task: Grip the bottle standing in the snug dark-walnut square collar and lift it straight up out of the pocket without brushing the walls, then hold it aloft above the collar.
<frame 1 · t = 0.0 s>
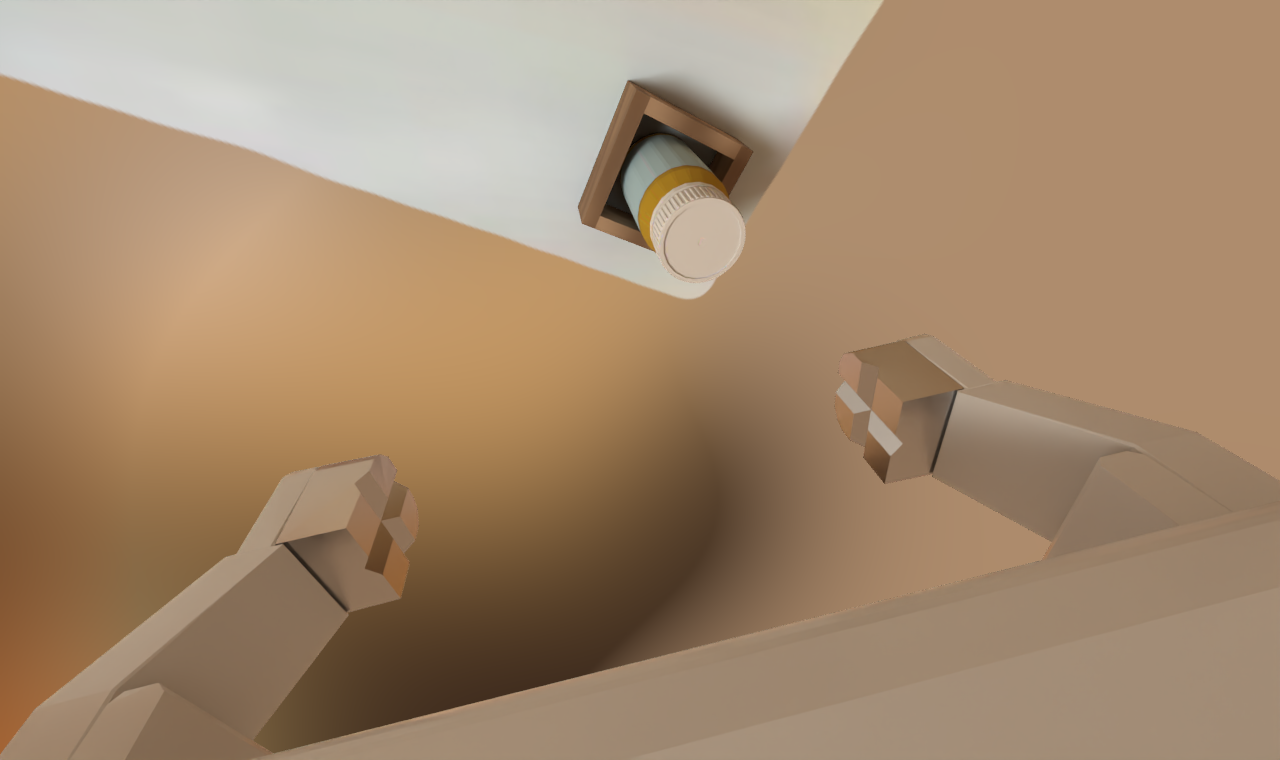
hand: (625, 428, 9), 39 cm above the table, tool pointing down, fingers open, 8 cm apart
bottle: (656, 172, 44), resting in pocket
pocket: (656, 173, 44), on the table
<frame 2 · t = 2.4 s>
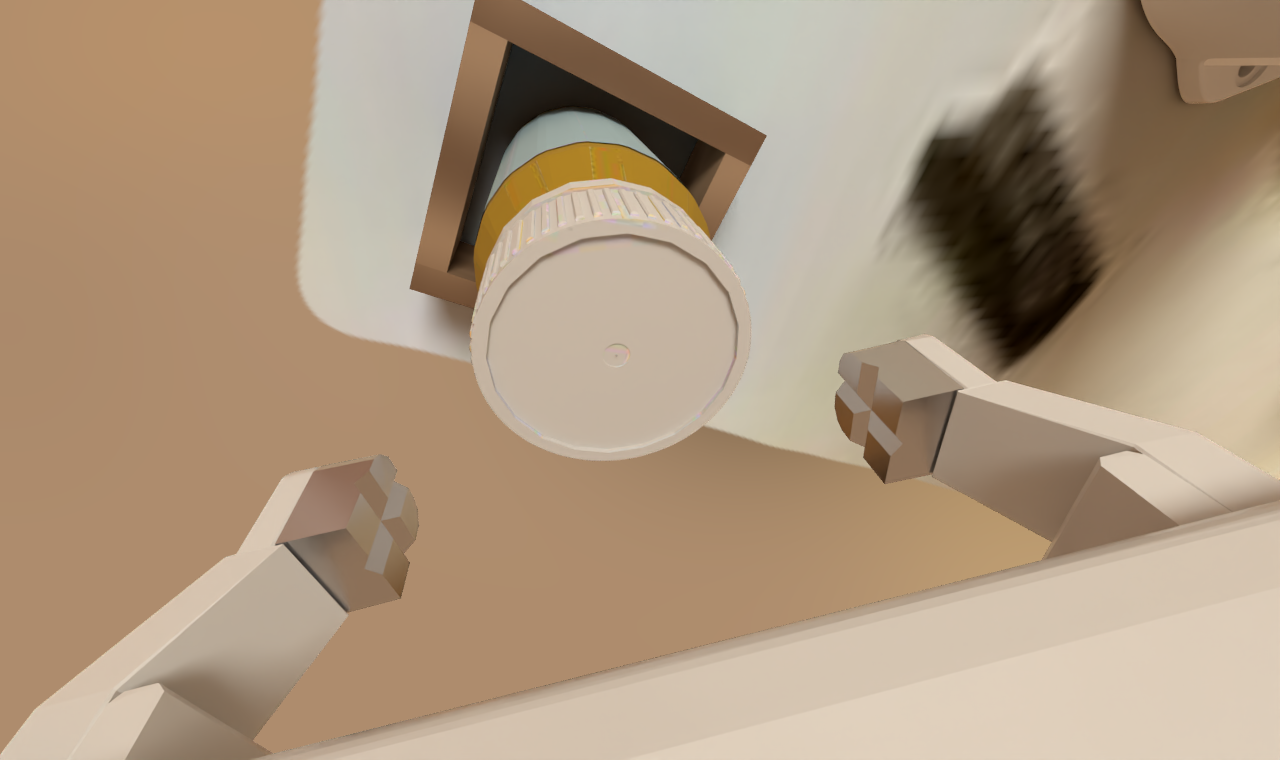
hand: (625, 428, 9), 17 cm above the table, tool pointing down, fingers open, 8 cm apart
bottle: (577, 188, 23), resting in pocket
pocket: (577, 189, 23), on the table
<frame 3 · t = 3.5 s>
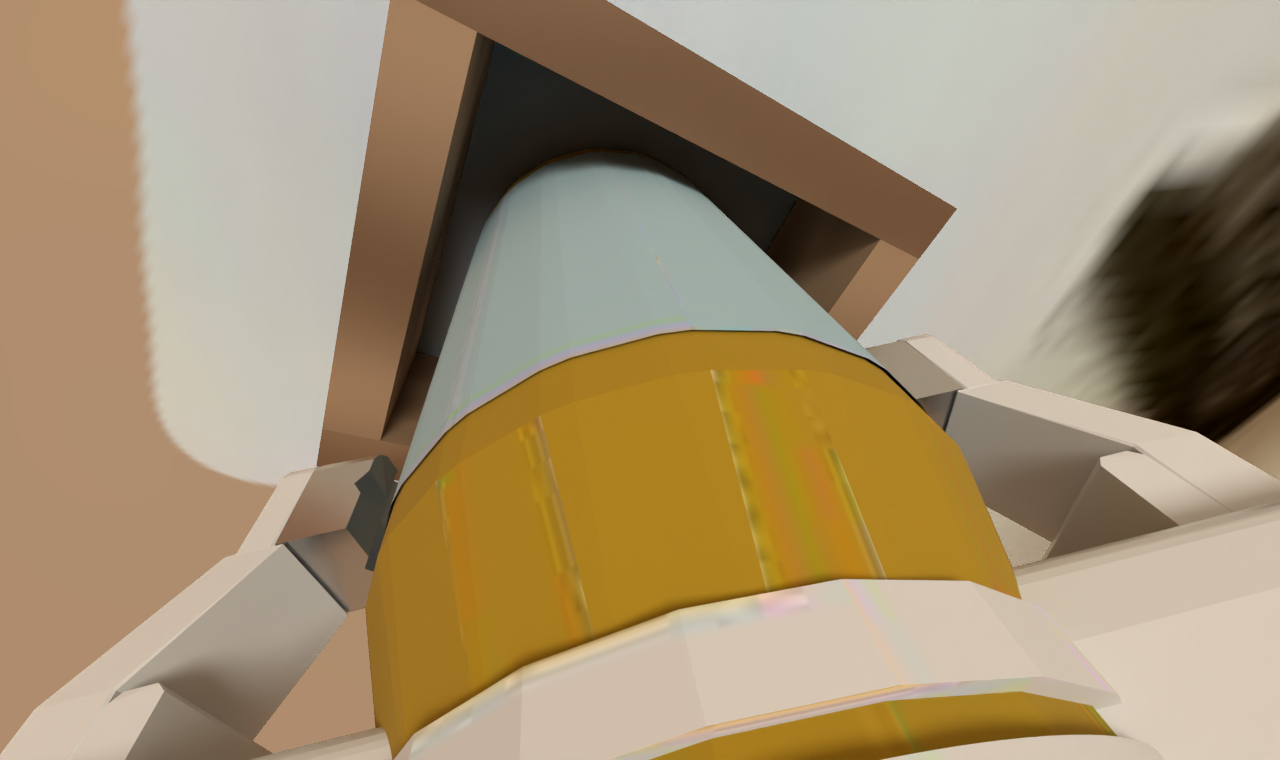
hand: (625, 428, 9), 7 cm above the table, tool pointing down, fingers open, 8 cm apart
bottle: (602, 271, 14), resting in pocket
pocket: (602, 274, 14), on the table
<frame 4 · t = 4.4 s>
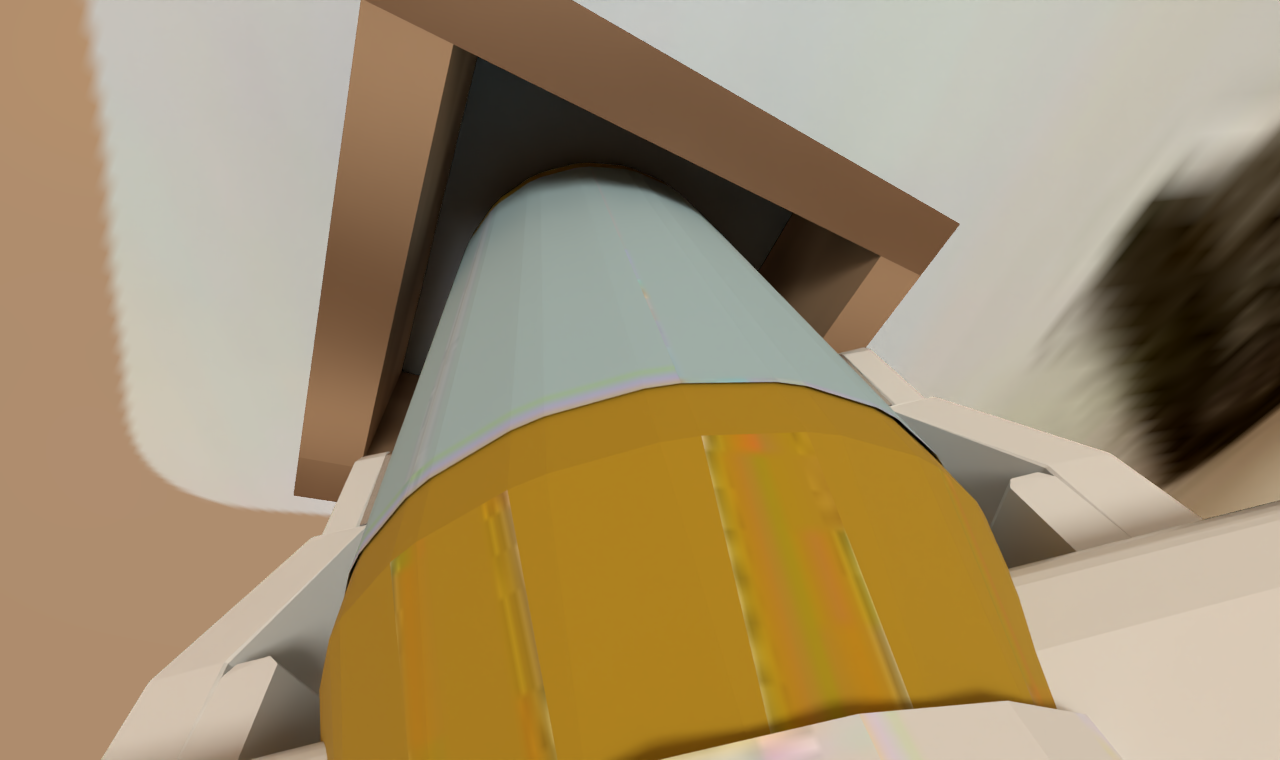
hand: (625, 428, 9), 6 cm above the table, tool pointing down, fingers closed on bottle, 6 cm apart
bottle: (593, 287, 14), resting in pocket, touching gripper
pocket: (594, 290, 14), on the table
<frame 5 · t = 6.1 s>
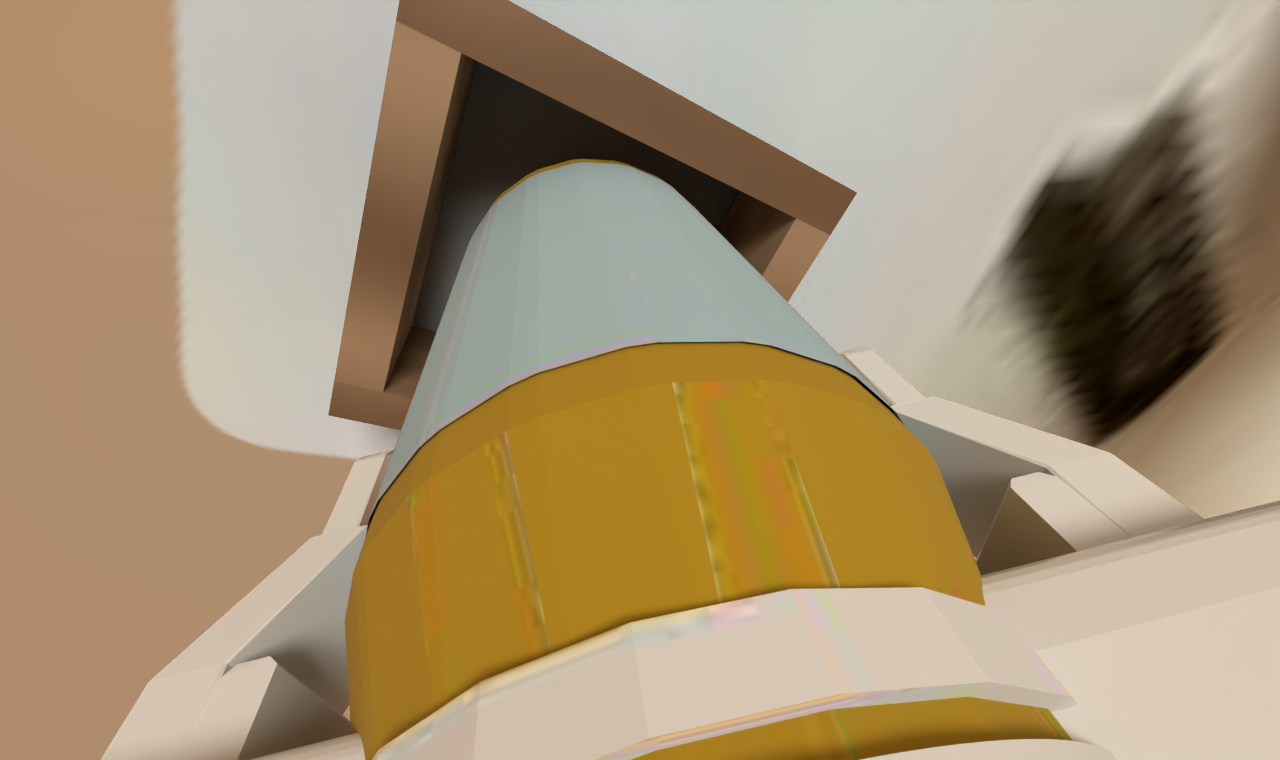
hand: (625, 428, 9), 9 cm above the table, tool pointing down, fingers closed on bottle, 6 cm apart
bottle: (591, 280, 14), point 2 cm above the table, touching gripper
pocket: (574, 256, 16), on the table
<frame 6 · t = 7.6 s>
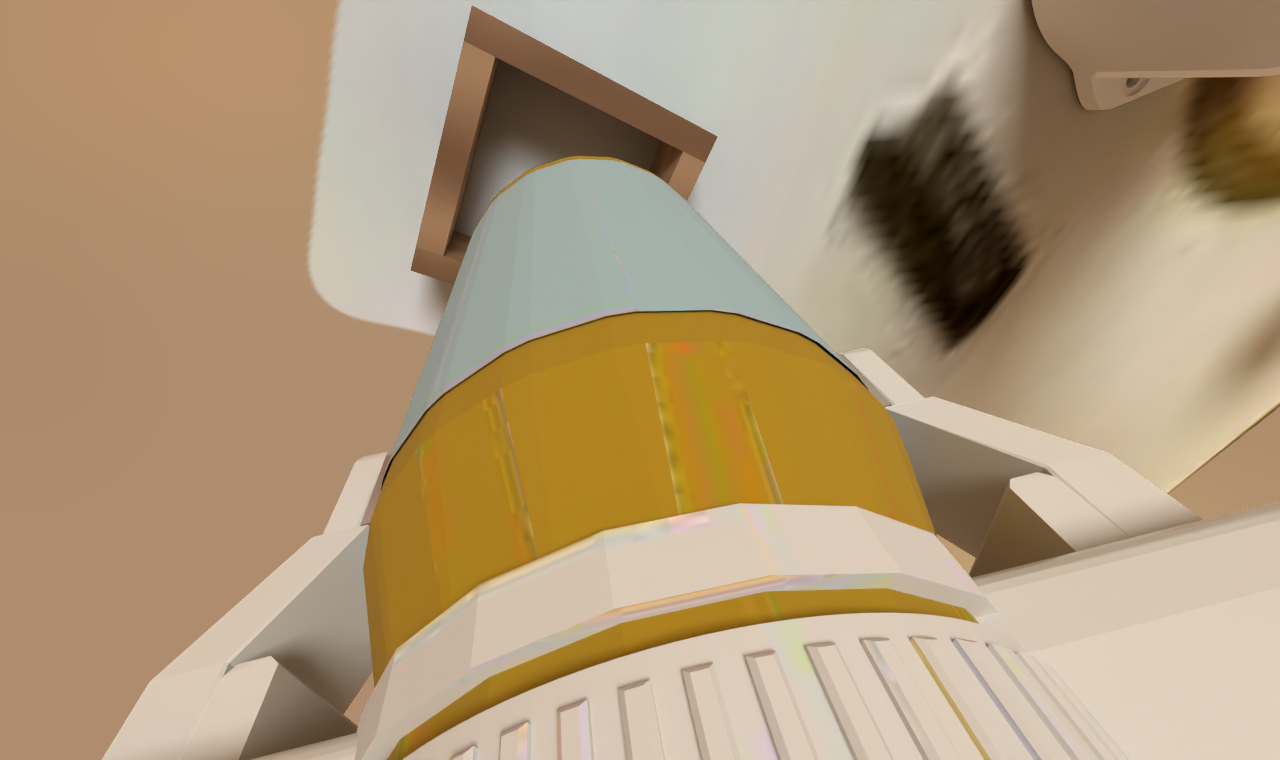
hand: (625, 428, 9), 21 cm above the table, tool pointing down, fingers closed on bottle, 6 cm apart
bottle: (589, 273, 15), point 13 cm above the table, touching gripper
pocket: (557, 185, 26), on the table
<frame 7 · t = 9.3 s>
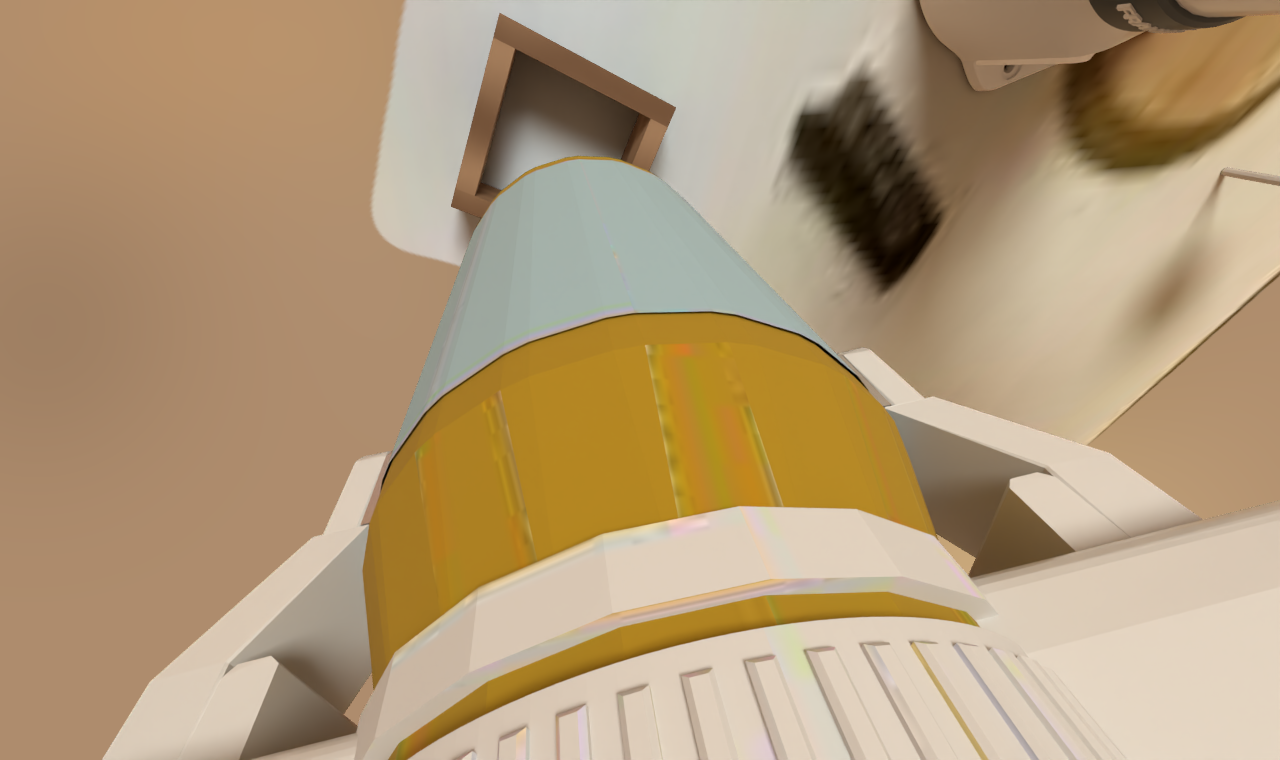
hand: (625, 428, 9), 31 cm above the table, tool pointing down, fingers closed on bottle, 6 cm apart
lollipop: (1222, 170, 45), on the table
bottle: (589, 273, 15), point 23 cm above the table, touching gripper
pocket: (559, 147, 34), on the table
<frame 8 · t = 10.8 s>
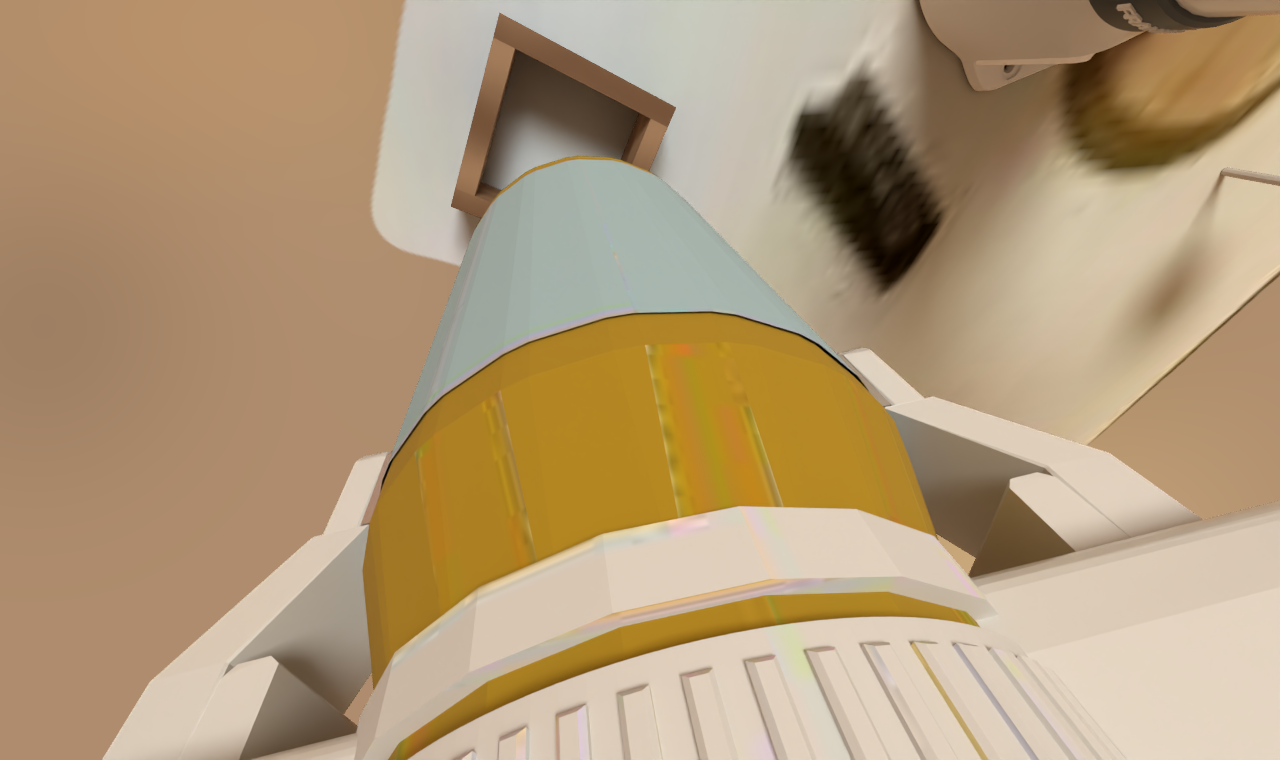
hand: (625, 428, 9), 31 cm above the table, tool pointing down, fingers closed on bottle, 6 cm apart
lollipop: (1222, 170, 45), on the table
bottle: (589, 273, 15), point 23 cm above the table, touching gripper
pocket: (559, 147, 34), on the table
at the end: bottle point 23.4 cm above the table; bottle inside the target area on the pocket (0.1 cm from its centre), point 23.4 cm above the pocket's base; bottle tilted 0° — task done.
